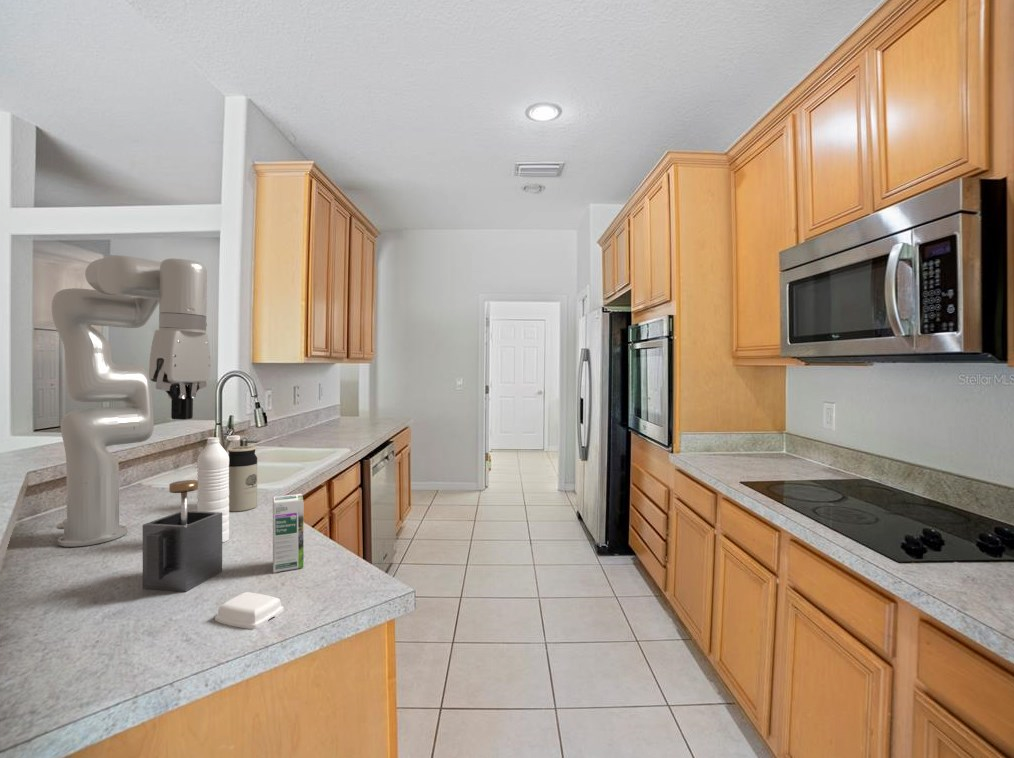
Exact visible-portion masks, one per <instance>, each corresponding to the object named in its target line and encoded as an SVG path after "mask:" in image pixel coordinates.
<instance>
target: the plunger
mask: <svg viewBox="0 0 1014 758" xmlns="http://www.w3.org/2000/svg"><path fill="white" fill-rule="evenodd" d="M197 480H198V479H197ZM197 480H195V479H192V480H191V479H188V480H178V481H173V482H171V483H169V493H172V494H180V511H181V525H185V526H186V525H187V511H188V493H189V492H190V493H191V492H194V491H198V481H197Z"/></svg>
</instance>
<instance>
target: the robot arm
mask: <svg viewBox="0 0 1014 758" xmlns="http://www.w3.org/2000/svg"><path fill="white" fill-rule="evenodd" d="M84 272H85V273H84V274H85V275H84V277H85V280H86V281H87V283H88V285H89V286H90V287H91V288H92V289H90V288H89V289H88V288H77V287H76V288H64V289H62V290H61V289H60V290H59V291H57V292H56V293H55V294H54V295H53V297H52V301H51V315H52V320H53V323H54V326H55V328H56V330H57V333H58V335H59V337H60V340H61V342H62V345H63V350H64V362H65V363H64V364H65V376H66V377H65V378H66V379H65V380H66V389H67V392H68V396H69V397H70V398H71V400H73V401H75V402H79V403H108V402H110V403H111V402H112V403H113V402H114V403H115V402H124V405H125V406H105V407H85V408H80V409H76V410H72V411H70V412H68V413H66V414H65V415H64V416H63V417H62V418H61V422H60V432H61V437H62V441H63V445H64V452H65V468H66V476H65V477H66V518H65V519H64V520H63V521H62V522H60V523H58V524H57V525H56V529H57V530H63V534H62V535H61V536H58V538H57V545H58V546H60V547H66V548H67V547H69V548H72V547H74V548H75V547H84V546H85V547H86V546H92V545H98V544H102V543H105V542H111V541H114V540H116V539H118V538H121V537H123V536H125V535H126V534H127V533H128V526H126V525H123V524H120V464H119V461H118V459H117V458H116V457H115V456H114V455H113V454H112V453H111V452H110V451H109V450H108V449H107V447H111V446H118V445H119V446H120V445H129V444H137V443H142V442H145V441H147V440H149V439H150V438H151V436H152V435H153V433H154V426H155V425H154V423H155V421H154V411H153V410H154V409H153V408H154V407H153V406H154V405H153V393H152V384H151V382H153V383H155V389H157V390H160V391H164V392H166V394H167V397H168V398H169V399H170V400H171V409H170V410H171V411H170V412H171V413H170V415H171V416H170V417H171V419H172V420H183V421H184V420H191V419H193V416H194V409H193V408H194V406H193V405H194V399H195V398H196V396H197V392H198V391H199V390H202V389H204V388H206V387H207V381H208V380H209V379H210V377H211V376H210V375H211V352H210V343H209V342H210V341H209V338H208V333H207V326H208V324H207V309H208V308H207V304H208V299H207V297H208V295H207V294H208V292H207V290H208V270H207V268H206V267H205V265H204V264H202V263H200V262H198V261H195V260H190V259H183V258H166V259H164V260H162V261H156V260H152V259H145V258H140V257H133V256H128V255H120V254H119V255H117V254H116V255H115V254H108V255H106V256H104V257H102V258H98V259H95V260H93V261H91V262H90V263H89V264H88V265H87V267H86V269H85V271H84ZM157 307H159V311H158V329H156V330H155V331H154V335H153V338H152V341H151V346H150V354H149V363H148V366H149V368H148V372H147V370H146V369H145V368H144V367H142V366H141V365H137V364H131V363H130V364H129V363H126V364H125V363H121V364H119V363H114V362H113V359H112V347H111V344H110V341H108V340H107V338H106V337H105V336H104V335H103V334H102V333H101V332H100V331H98V329H97V328H95V327H94V326H98V327H100V326H101V327H109V328H110V327H111V328H112V327H113V328H127V329H138V328H141V327H144V326H145V325H146V324H147V323H148V322H149V320H150V319H151V317H152V316H153V314H154V312H155V311H156V309H157Z"/></svg>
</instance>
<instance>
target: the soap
mask: <svg viewBox="0 0 1014 758" xmlns="http://www.w3.org/2000/svg"><path fill="white" fill-rule="evenodd" d="M281 601H282V600H281V599H280V598H278V597H275V596H271V595H267V594H263V593H261V594H260V593H255V592H249V591H245V592H242V593H241V594H238V595H236V596H235V597H232V598H231V599H229V600H227V601H226V602H224V603H222V604H221V605H220V606H219V607H218V609H217V614H216V615H215V616H214V618H215V619H214V621H215V622H217V623H220V624H224V625H227V626H231V627H236V628H242V629H249V630H256V629H258V628H260V627H262V626H263V625H265V624H267V623H268V622H269V620H270V619H272V618H273V617H274V618H276V617H278V616H279V615H281V614H282V613H284V606H283V605H282V603H281Z"/></svg>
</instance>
